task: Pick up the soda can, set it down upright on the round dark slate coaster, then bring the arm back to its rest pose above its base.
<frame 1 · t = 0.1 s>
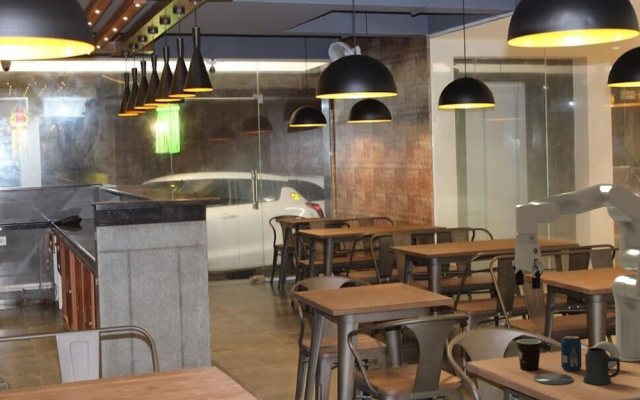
hand: (527, 286, 314), 31 cm above the table, tool pointing down, fingers open, 9 cm apart
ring: (605, 369, 319), on the table
mug: (601, 382, 301), on the table
soda can: (571, 370, 319), on the table
coffee mug: (529, 368, 324), on the table
slate coaster: (553, 379, 306), on the table
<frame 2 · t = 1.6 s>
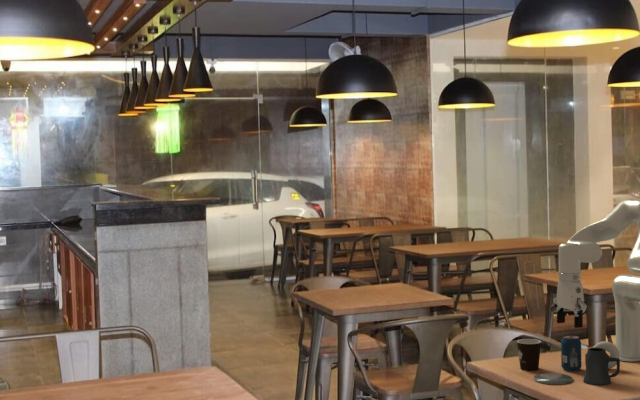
hand: (569, 325, 318), 16 cm above the table, tool pointing down, fingers open, 9 cm apart
nothing on the table moved.
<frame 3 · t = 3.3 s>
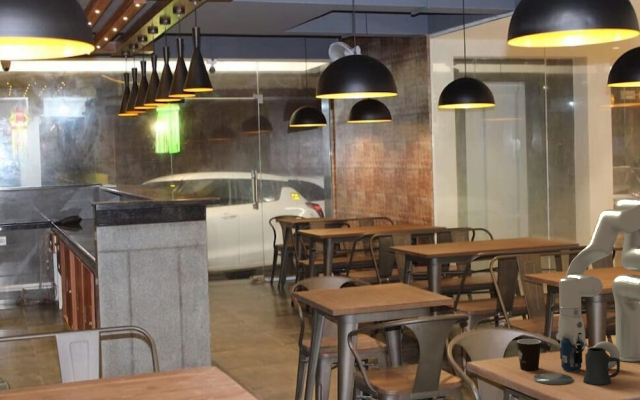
hand: (571, 360, 319), 3 cm above the table, tool pointing down, fingers closed on soda can, 7 cm apart
soda can: (571, 370, 319), on the table, touching gripper
everything else where it was.
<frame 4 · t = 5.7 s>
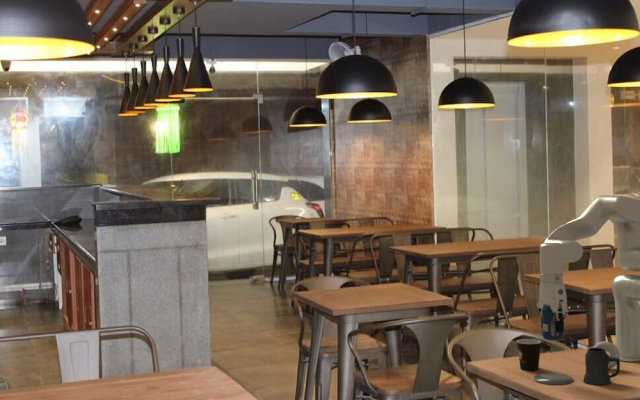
hand: (552, 329, 306), 18 cm above the table, tool pointing down, fingers closed on soda can, 7 cm apart
soda can: (552, 339, 306), point 14 cm above the table, touching gripper
everything else where it was.
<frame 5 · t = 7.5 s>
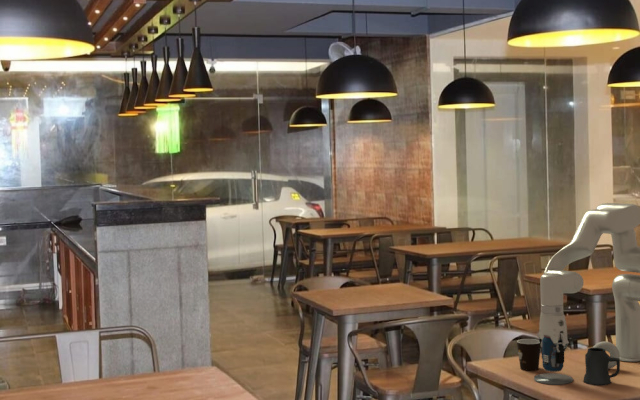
hand: (552, 360, 306), 7 cm above the table, tool pointing down, fingers closed on soda can, 7 cm apart
soda can: (553, 370, 306), point 3 cm above the table, touching gripper
everything else where it was.
when the fingers open (5 cm above the table, at t = 8.5 s): soda can drops 1 cm, resting on slate coaster.
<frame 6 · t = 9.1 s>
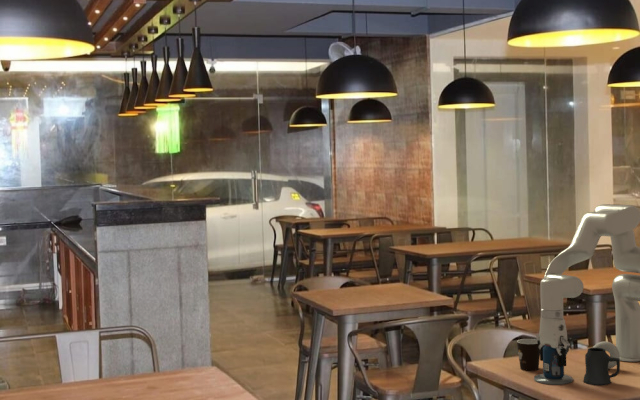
hand: (553, 363, 306), 6 cm above the table, tool pointing down, fingers open, 9 cm apart
soda can: (553, 378, 307), resting on slate coaster
everything else where it was.
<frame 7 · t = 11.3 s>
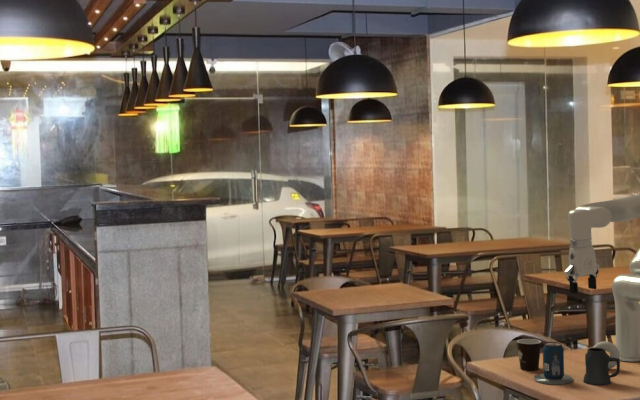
hand: (583, 290, 319), 28 cm above the table, tool pointing down, fingers open, 9 cm apart
nothing on the table moved.
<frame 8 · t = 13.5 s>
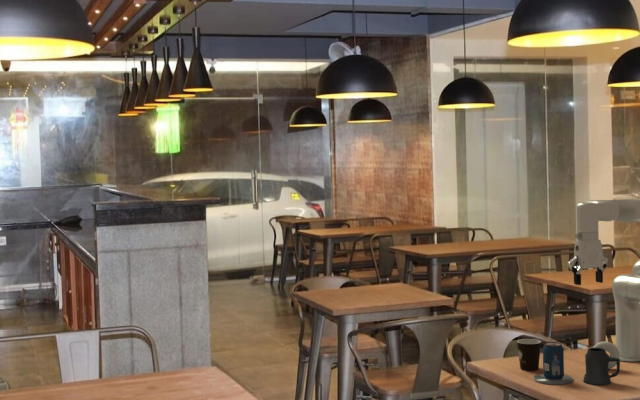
hand: (588, 283, 322), 30 cm above the table, tool pointing down, fingers open, 9 cm apart
nothing on the table moved.
at the end: soda can 0.2 cm from the slate coaster (horizontally); soda can tilted 0°; the gripper is holding nothing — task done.
